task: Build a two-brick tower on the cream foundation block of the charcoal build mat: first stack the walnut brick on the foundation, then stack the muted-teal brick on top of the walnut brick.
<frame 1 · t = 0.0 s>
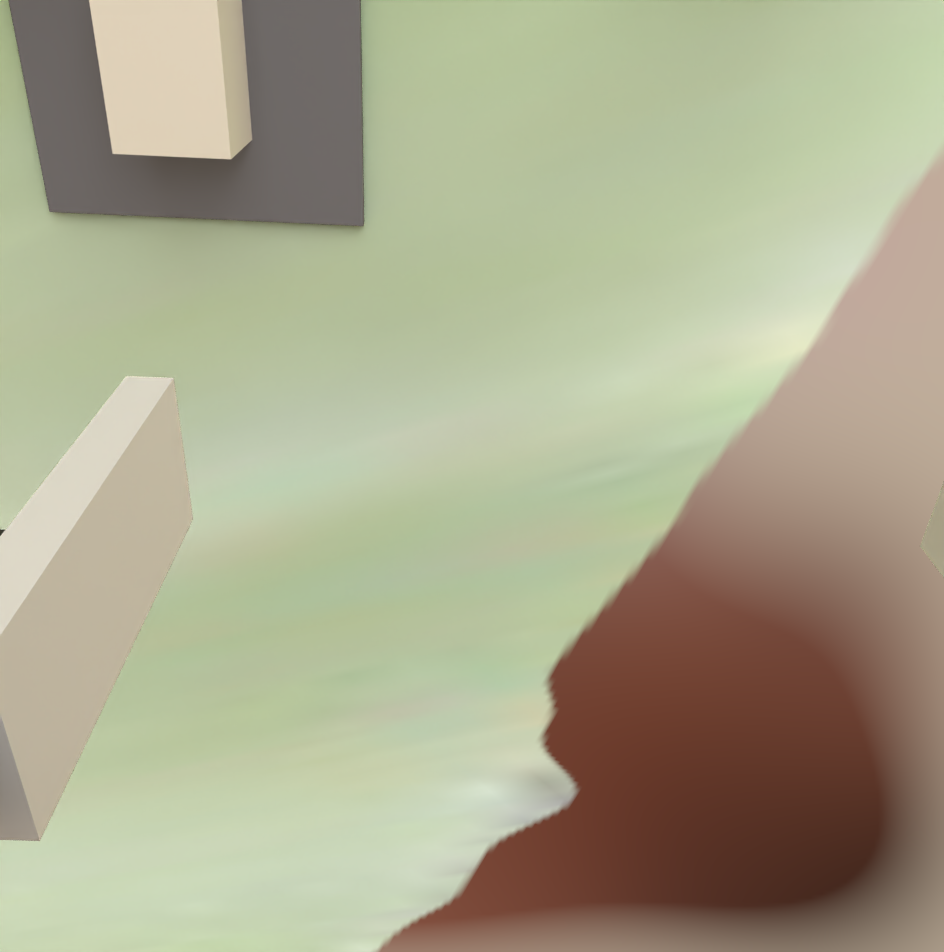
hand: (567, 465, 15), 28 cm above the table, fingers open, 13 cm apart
build mat: (192, 46, 37), on the table
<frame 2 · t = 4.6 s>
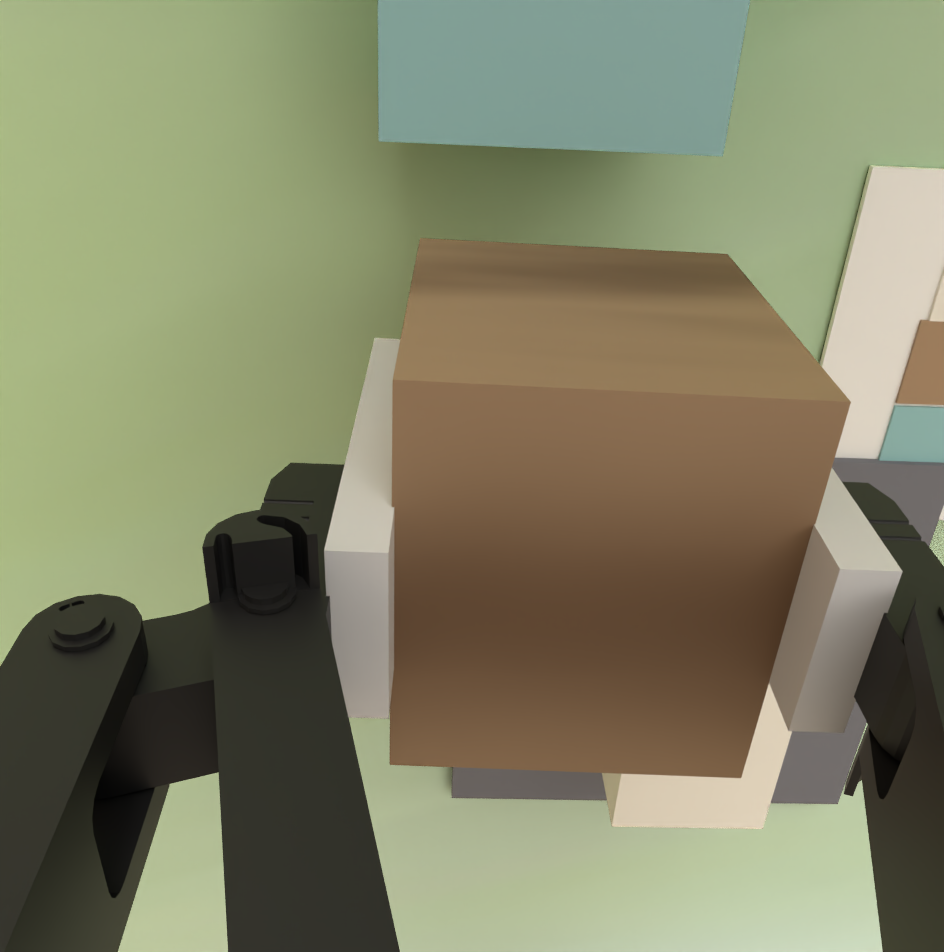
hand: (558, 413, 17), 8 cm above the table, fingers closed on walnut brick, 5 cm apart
walnut brick: (556, 410, 17), point 7 cm above the table, touching gripper
build mat: (673, 640, 29), on the table
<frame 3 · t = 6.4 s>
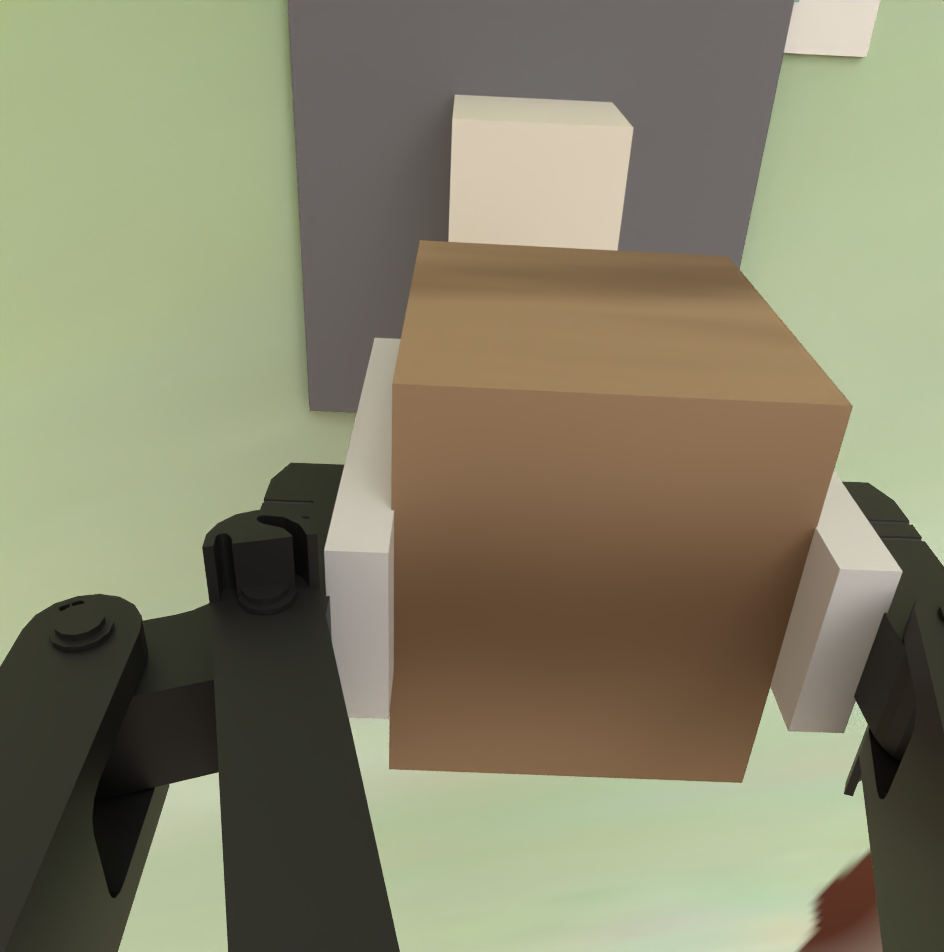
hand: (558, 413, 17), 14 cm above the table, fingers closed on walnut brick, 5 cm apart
walnut brick: (556, 413, 17), point 13 cm above the table, touching gripper
build mat: (523, 214, 28), on the table
when the fingers open (4 cm above the table, at t = 8.4 s): walnut brick stays where it is, resting on build mat.
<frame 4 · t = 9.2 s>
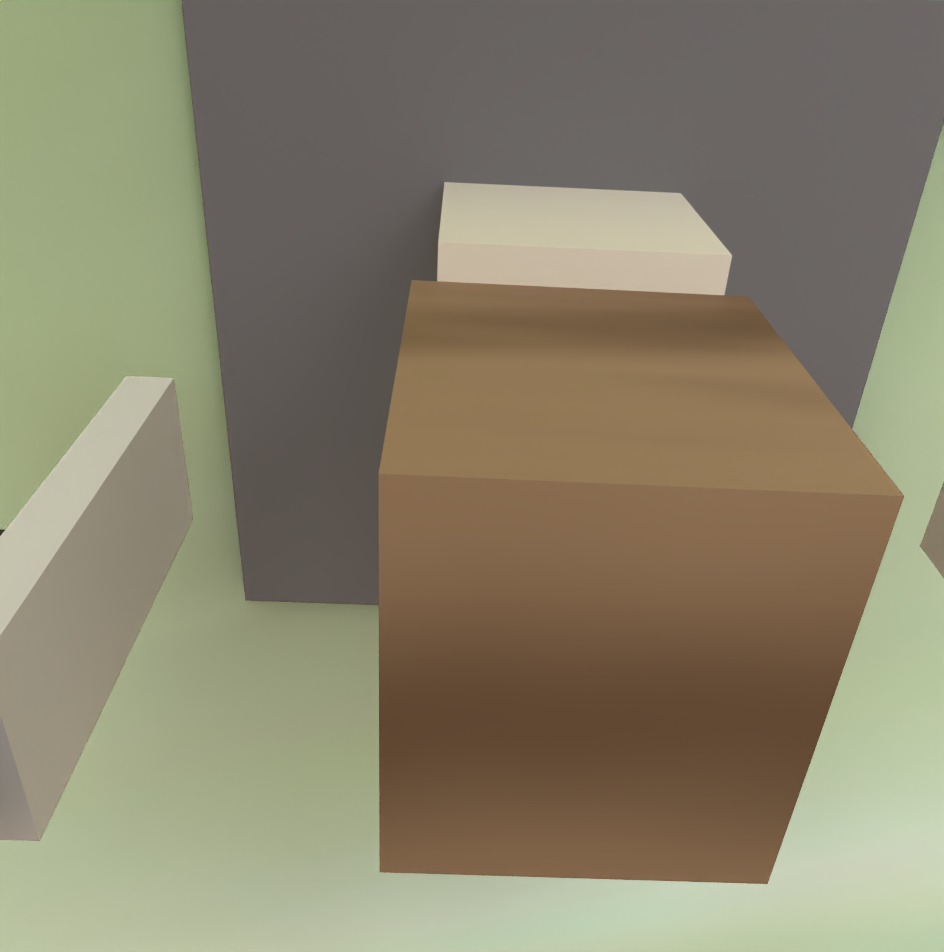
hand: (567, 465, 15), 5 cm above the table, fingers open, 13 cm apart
walnut brick: (560, 461, 16), point 4 cm above the table, touching build mat
build mat: (545, 345, 20), on the table
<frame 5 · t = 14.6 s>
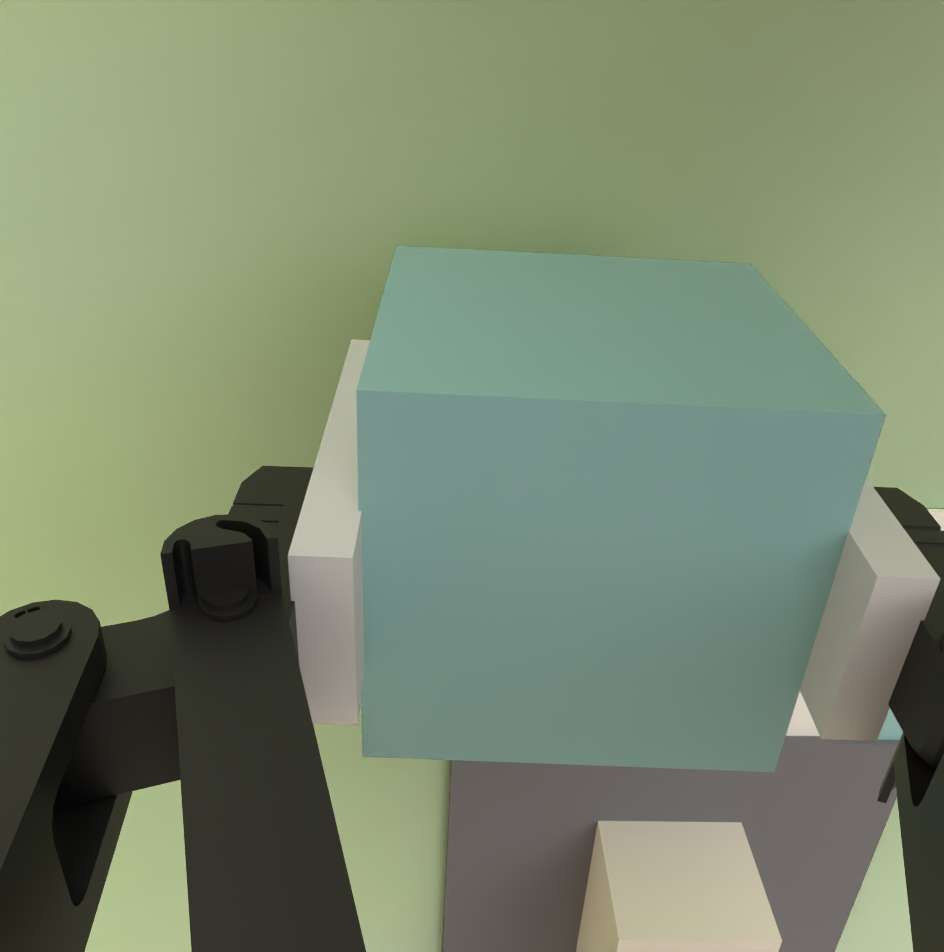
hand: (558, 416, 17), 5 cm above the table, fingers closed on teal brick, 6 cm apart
teal brick: (557, 409, 17), point 4 cm above the table, touching gripper
instruction card: (905, 656, 26), on the table
build mat: (650, 879, 31), on the table
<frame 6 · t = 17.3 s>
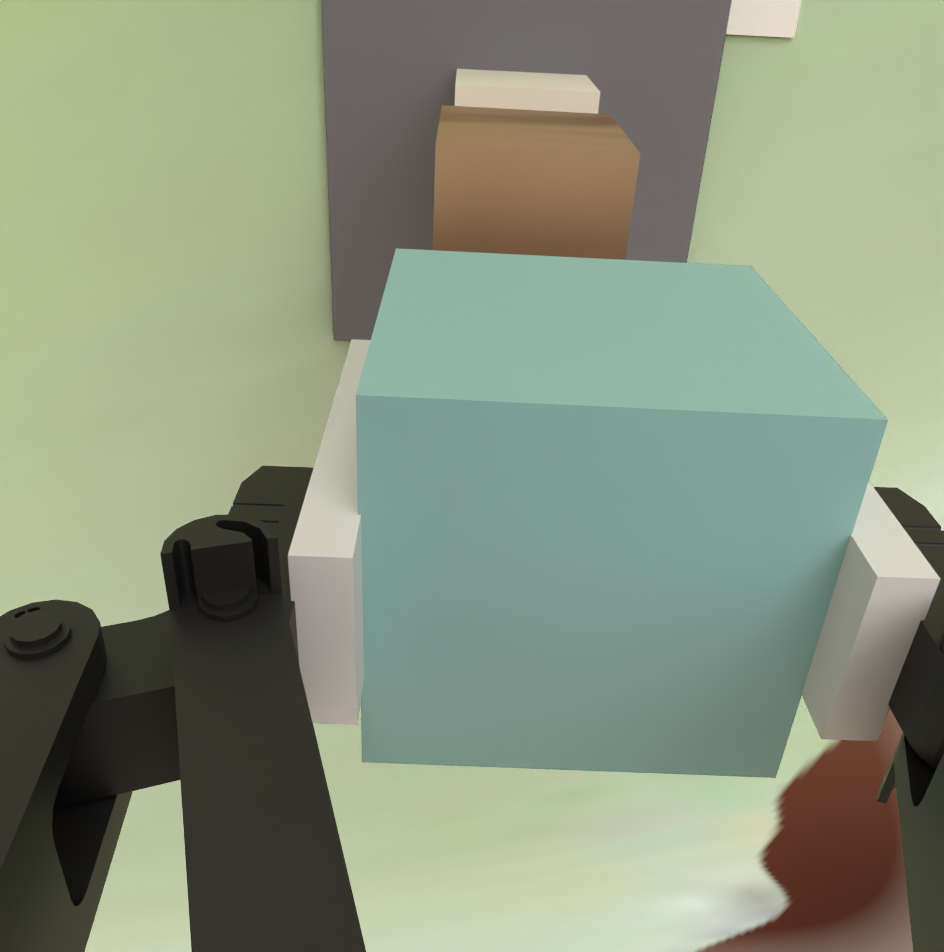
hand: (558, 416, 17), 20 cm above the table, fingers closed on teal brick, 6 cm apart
teal brick: (557, 412, 17), point 20 cm above the table, touching gripper
walnut brick: (518, 210, 30), point 4 cm above the table, touching build mat
build mat: (514, 170, 34), on the table
when the fingers open (10 cm above the table, at t = 20.0 s): teal brick stays where it is, resting on walnut brick.
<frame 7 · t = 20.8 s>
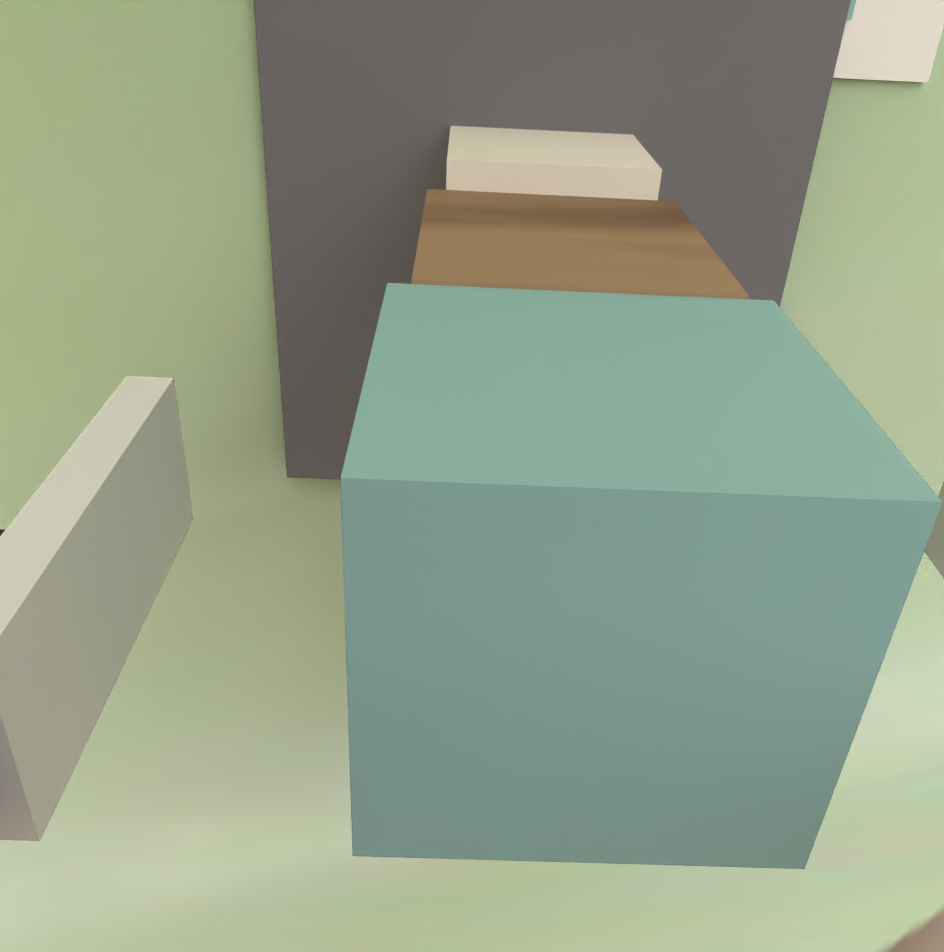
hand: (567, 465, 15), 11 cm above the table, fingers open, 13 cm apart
teal brick: (562, 454, 16), point 10 cm above the table, touching walnut brick
walnut brick: (538, 333, 21), point 4 cm above the table, touching build mat, teal brick
build mat: (529, 260, 25), on the table
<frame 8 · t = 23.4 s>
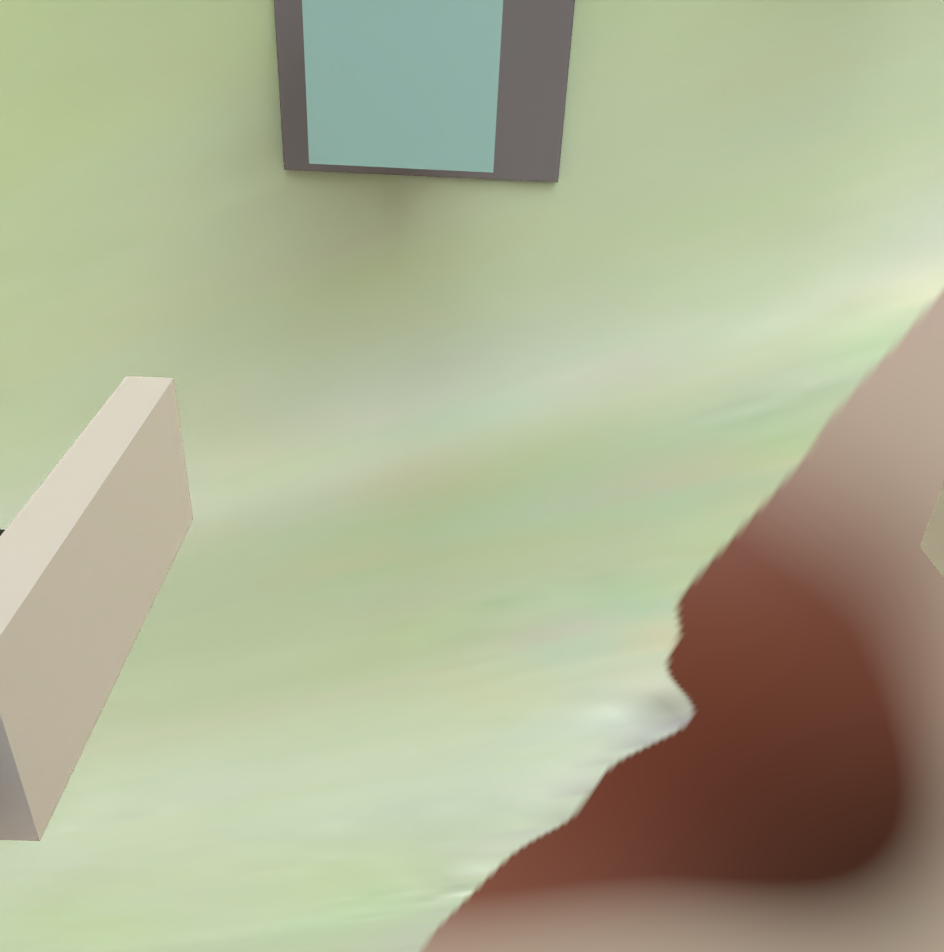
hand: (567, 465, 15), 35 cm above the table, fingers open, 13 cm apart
teal brick: (412, 50, 34), point 10 cm above the table, touching walnut brick
build mat: (424, 22, 43), on the table
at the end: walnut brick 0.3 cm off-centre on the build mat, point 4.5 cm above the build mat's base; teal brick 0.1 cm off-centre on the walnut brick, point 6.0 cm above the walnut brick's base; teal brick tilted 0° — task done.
